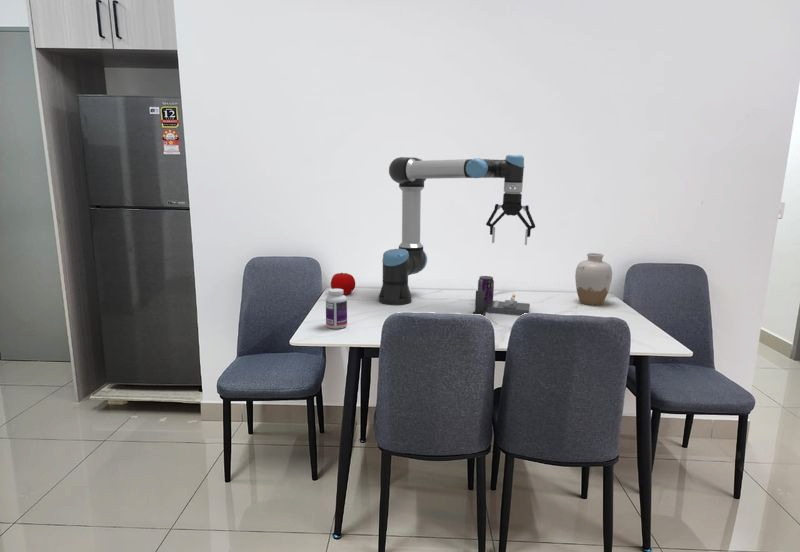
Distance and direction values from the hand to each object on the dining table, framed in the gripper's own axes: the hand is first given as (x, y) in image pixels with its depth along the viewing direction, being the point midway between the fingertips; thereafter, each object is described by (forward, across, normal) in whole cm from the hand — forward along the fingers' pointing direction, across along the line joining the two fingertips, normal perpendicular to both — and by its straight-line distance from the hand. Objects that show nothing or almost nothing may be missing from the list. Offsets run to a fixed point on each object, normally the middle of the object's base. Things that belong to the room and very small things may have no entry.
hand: (509, 243), depth 226 cm
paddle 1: (+26, +2, +2) cm, 26 cm away
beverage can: (+29, -10, +10) cm, 33 cm away
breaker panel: (+29, -1, -1) cm, 29 cm away
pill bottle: (+30, -60, -46) cm, 81 cm away
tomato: (+30, -78, +6) cm, 84 cm away
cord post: (+29, -10, -11) cm, 33 cm away
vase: (+29, +37, +26) cm, 54 cm away
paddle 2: (+26, +2, -3) cm, 26 cm away
